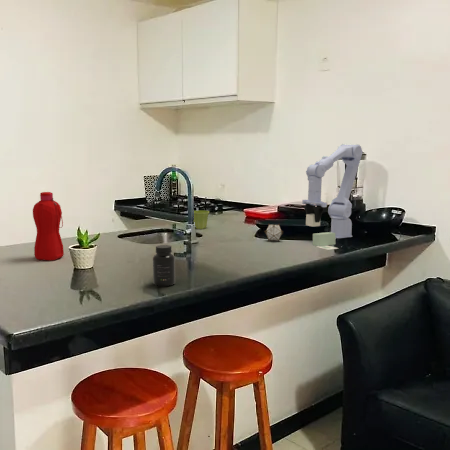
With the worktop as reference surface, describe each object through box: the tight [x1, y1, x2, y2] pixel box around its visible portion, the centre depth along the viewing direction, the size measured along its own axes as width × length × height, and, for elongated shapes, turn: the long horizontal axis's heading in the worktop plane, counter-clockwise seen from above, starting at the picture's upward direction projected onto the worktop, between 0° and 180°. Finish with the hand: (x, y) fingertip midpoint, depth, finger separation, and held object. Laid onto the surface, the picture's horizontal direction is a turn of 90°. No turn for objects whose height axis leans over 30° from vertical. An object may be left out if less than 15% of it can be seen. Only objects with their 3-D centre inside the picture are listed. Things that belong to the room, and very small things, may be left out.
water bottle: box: [32, 191, 65, 261], centre depth 190 cm, size 9×11×25 cm
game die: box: [264, 222, 284, 242], centre depth 230 cm, size 9×8×10 cm
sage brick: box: [312, 231, 336, 246], centre depth 223 cm, size 9×4×5 cm, turn 121°
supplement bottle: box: [152, 244, 176, 287], centre depth 158 cm, size 7×7×12 cm
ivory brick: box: [305, 213, 321, 227], centre depth 231 cm, size 4×4×5 cm
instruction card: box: [314, 245, 339, 251], centre depth 217 cm, size 6×8×1 cm
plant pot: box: [193, 210, 210, 230], centre depth 263 cm, size 9×9×9 cm
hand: (313, 221), depth 231 cm, fingers closed on ivory brick, 4 cm apart
